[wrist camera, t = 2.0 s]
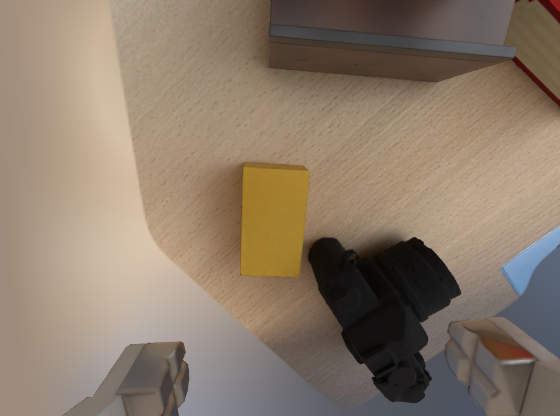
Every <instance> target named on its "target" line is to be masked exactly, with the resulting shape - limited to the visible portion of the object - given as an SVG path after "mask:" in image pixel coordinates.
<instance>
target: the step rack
mask: <svg viewBox="0 0 560 416" xmlns="http://www.w3.org/2000/svg"><path fill="white" fill-rule="evenodd" d="M514 3H515V0H271V11H270V29H269V68H275V69H287V70H299V71H311V72H323V73H335V74H347V75H359V76H371V77H383V78H395V79H406V80H418V81H430V82H439V81H442V80H445V79H449V78H452V77H455V76H458V75H461V74H465V73H468V72H471V71H474V70H478V69H481V68H484V67H487V66H490V65H494V64H497V63H500V62H503V61H507V60H510V59H513V58H514V56H515V52H516V49H517V47H512V46H503V45H504V41H505V38H506V34H507V30H508V26H509V22H510V18H511V14H512V11H513V7H514Z"/></svg>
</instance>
